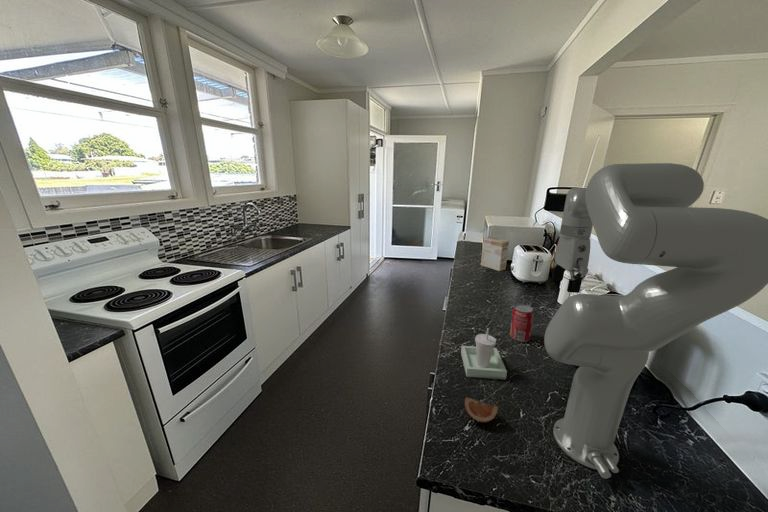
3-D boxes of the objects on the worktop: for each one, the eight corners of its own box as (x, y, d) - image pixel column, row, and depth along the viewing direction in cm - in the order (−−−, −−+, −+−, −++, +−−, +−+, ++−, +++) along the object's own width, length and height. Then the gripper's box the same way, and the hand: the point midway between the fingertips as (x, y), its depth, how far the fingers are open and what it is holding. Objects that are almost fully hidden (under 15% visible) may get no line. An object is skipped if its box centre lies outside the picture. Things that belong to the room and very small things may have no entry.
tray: (505, 379, 86) (507, 371, 85) (466, 376, 87) (467, 368, 86) (495, 355, 97) (496, 348, 96) (460, 352, 98) (461, 345, 98)
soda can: (532, 344, 103) (537, 313, 99) (511, 342, 104) (516, 311, 101) (526, 334, 110) (531, 304, 106) (507, 332, 111) (511, 303, 107)
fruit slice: (497, 412, 74) (499, 397, 73) (495, 433, 68) (498, 417, 67) (465, 402, 77) (466, 388, 76) (461, 421, 71) (462, 406, 70)
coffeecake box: (505, 269, 182) (509, 241, 176) (499, 271, 179) (502, 242, 173) (487, 263, 194) (490, 236, 189) (480, 265, 191) (483, 238, 185)
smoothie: (479, 372, 88) (484, 334, 84) (468, 359, 94) (472, 323, 90) (497, 368, 89) (502, 331, 85) (485, 356, 95) (489, 320, 91)
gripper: (608, 238, 71) (594, 298, 76) (573, 226, 88) (563, 276, 93) (577, 237, 72) (565, 297, 77) (548, 225, 89) (539, 275, 94)
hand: (564, 285), depth 85 cm, fingers open, 9 cm apart
